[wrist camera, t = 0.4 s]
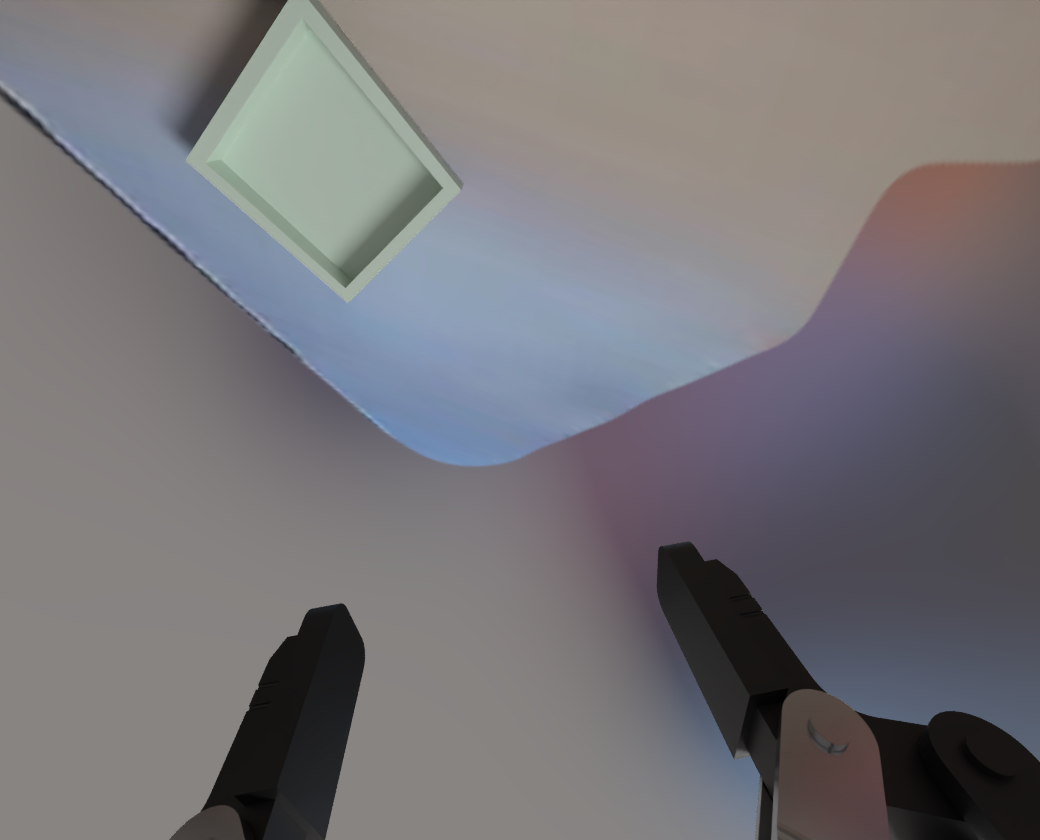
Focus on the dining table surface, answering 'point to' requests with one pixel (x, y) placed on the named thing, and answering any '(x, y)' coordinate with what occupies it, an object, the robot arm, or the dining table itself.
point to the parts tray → (323, 153)
